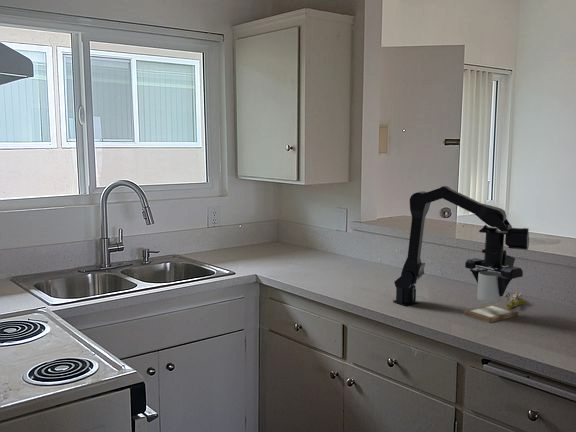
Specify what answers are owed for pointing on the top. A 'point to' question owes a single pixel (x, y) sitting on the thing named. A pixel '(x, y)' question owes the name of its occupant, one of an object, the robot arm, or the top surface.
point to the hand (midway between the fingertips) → (491, 293)
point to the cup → (488, 287)
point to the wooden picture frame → (491, 313)
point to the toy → (514, 299)
